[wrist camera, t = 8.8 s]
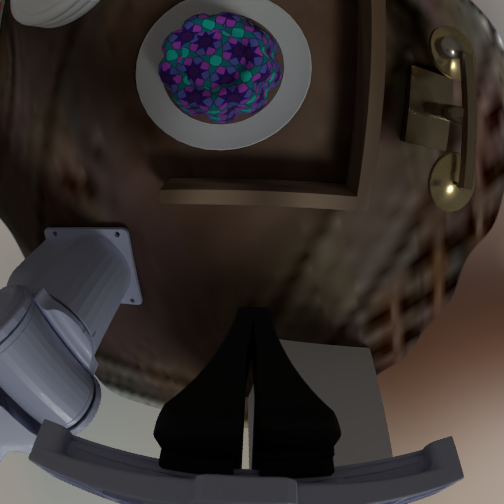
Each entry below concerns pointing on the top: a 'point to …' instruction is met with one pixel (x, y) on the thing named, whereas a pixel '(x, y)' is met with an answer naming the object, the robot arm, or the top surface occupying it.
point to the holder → (361, 149)
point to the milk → (342, 398)
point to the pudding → (222, 71)
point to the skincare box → (1, 9)
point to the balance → (444, 116)
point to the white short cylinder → (49, 11)
